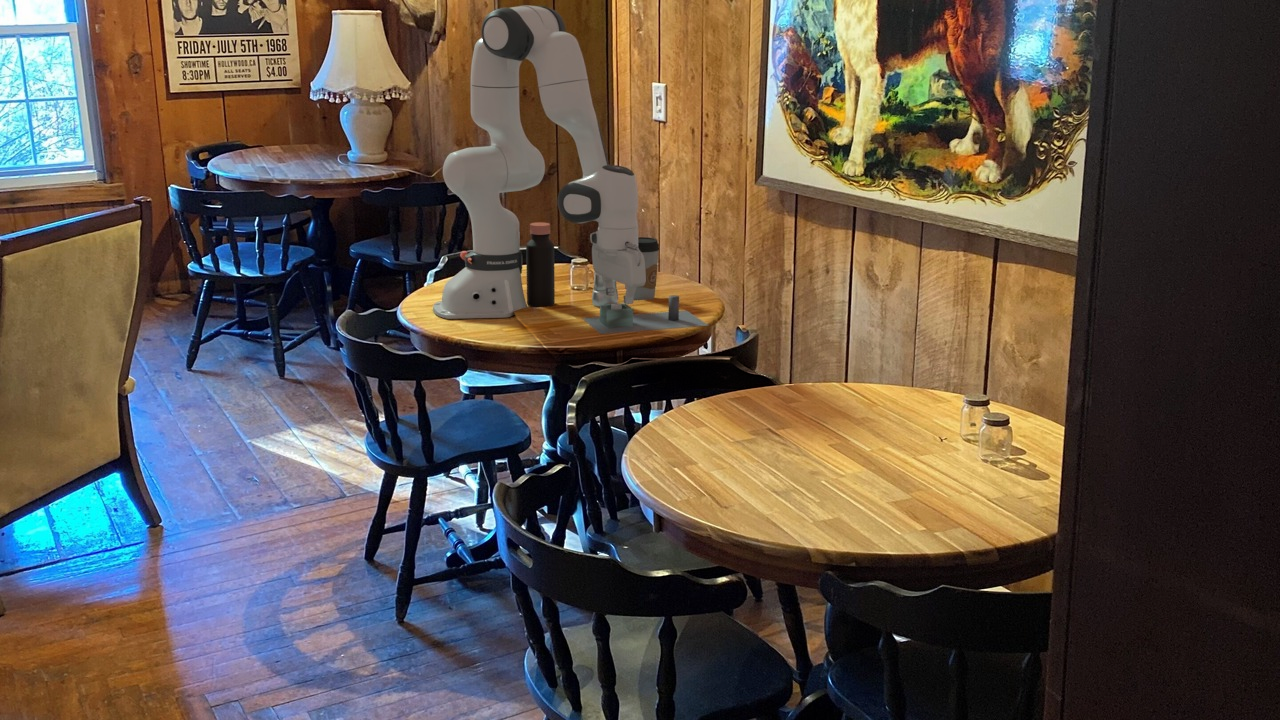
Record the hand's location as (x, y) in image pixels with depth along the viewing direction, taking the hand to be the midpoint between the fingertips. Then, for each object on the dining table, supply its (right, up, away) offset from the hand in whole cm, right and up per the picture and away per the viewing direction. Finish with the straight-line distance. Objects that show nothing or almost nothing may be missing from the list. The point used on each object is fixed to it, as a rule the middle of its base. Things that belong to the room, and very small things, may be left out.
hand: (619, 299), depth 267 cm
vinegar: (-20, 0, +23) cm, 30 cm away
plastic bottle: (-4, -1, +20) cm, 20 cm away
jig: (+6, -6, +5) cm, 10 cm away
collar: (-1, -5, +2) cm, 6 cm away
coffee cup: (+5, +2, +30) cm, 30 cm away
